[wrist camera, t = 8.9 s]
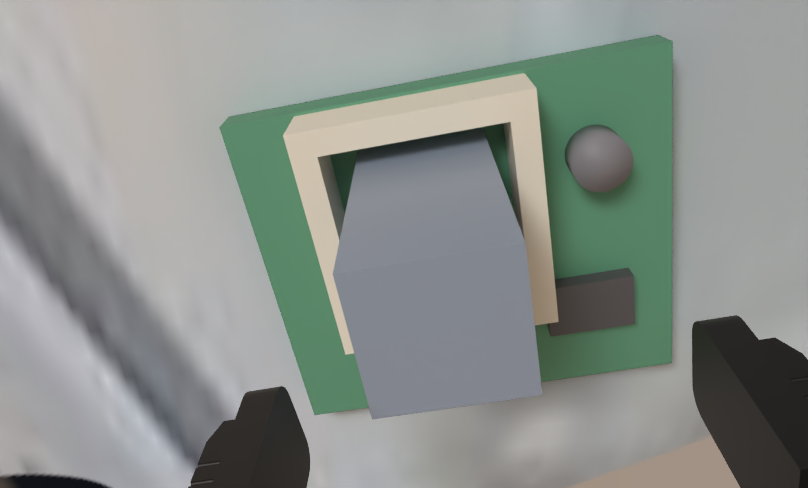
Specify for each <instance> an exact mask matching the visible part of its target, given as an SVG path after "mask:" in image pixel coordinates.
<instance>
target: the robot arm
mask: <svg viewBox="0 0 808 488" xmlns="http://www.w3.org/2000/svg"><path fill="white" fill-rule="evenodd" d="M692 377H693V392H694V397H695V401H696V405H697V408H698V410H699V413H700V415H701V417H702V419H703V421H704V423H705V425H706V426H707V428H708V430H709V432H710V434H711V435H712V437H713V439H714V441H715V443H716V444H717V446H718V448H719V450H720V451H721V453H722V455H723V457H724V458H725V461H726V462H727V464H728V466H729V468H730V469H731V471H732V473H733V475H734V477H735V478H736V480H737V482H738V484H739V486H740V487H741V488H808V360H807V358H806V357H805V356H804V355H803V354H802V353H800V352H799V351H797V350H795V349H794V348H792V347H790V346H788V345H787V344H785V343H783V342H782V341H780V340H778V339H776V338H770V339H763V340H758V338H757V337H756V336H755V335H754V333H753V332H752V331H751V330H750V328H749V327H748V326H747V325H746V323H745V322H744V321H743V320H742V319H741V318H740V317H739V316H737V315H735V316H729V317H722V318H716V319H710V320H703V321H697V322H695V323H694V324H693V328H692ZM309 471H310V454H309V447H308V443H307V440H306V437H305V434H304V432H303V429H302V427H301V424H300V422H299V419H298V416H297V414H296V411H295V409H294V406H293V404H292V401H291V398H290V396H289V394H288V391H287V390H286V389H285V388H284V387H282V386H281V387H275V388H269V389H262V390H256V391H250V392H247V393H245V395H244V397H243V399H242V402H241V405H240V408H239V410H238V413H237V416H236V419H235V420H229V421H224V422H223V423H222V424H221V425H220V427H219V428H218V429H217V430H216V431H215V432H214V434H213V435H212V436H211V437H210V438H209V440H208V441H207V442H206V445H205V447H204V450H203V452H202V455H201V457H200V460H199V462H198V468H196V470H195V472H194V475H193V477H192V480H191V486H190V487H188V488H306V487H307V482H308V477H309Z"/></svg>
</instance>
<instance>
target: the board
mask: <svg viewBox="0 0 808 488" xmlns="http://www.w3.org/2000/svg"><path fill="white" fill-rule="evenodd" d="M672 76H673V41H670V40H668V39H666V38H664V37H661V36H659V35H656V36H650V37H645V38H640V39H635V40H629V41H624V42H619V43H614V44H608V45H603V46H598V47H593V48H587V49H582V50H577V51H572V52H566V53H561V54H556V55H551V56H546V57H540V58H535V59H530V60H525V61H519V62H514V63H509V64H504V65H498V66H493V67H488V68H483V69H477V70H472V71H467V72H462V73H456V74H451V75H446V76H441V77H435V78H430V79H425V80H420V81H414V82H409V83H404V84H399V85H393V86H388V87H383V88H378V89H373V90H367V91H362V92H357V93H352V94H346V95H341V96H336V97H331V98H325V99H320V100H315V101H310V102H304V103H299V104H294V105H289V106H283V107H278V108H273V109H268V110H262V111H257V112H252V113H247V114H241V115H236V116H231V117H228V119H227V120H226V121H225V122H224V123H223V124H222V125H221V126H220V130H221V133H222V136H223V139H224V142H225V145H226V149H227V152H228V155H229V158H230V161H231V164H232V167H233V170H234V173H235V176H236V179H237V182H238V185H239V188H240V191H241V194H242V197H243V200H244V203H245V206H246V209H247V212H248V215H249V218H250V221H251V224H252V227H253V230H254V233H255V236H256V239H257V242H258V245H259V248H260V251H261V254H262V257H263V260H264V263H265V266H266V270H267V273H268V276H269V279H270V282H271V285H272V288H273V291H274V294H275V297H276V300H277V303H278V306H279V309H280V312H281V315H282V318H283V321H284V324H285V327H286V330H287V333H288V336H289V339H290V342H291V345H292V348H293V351H294V354H295V357H296V360H297V363H298V366H299V369H300V372H301V375H302V378H303V381H304V384H305V388H306V391H307V394H308V397H309V400H310V403H311V406H312V409H313V412H314V415H319V414H326V413H332V412H339V411H346V410H353V409H360V408H367V407H369V405H368V402H367V398H366V394H365V391H364V387H363V383H362V380H361V376H360V372H359V369H358V365H357V361H356V358H355V354H354V350H353V347H352V343H351V339H350V336H349V332H348V328H347V325H346V321H345V317H344V314H343V310H342V306H341V303H340V299H339V295H338V292H337V288H336V284H335V281H334V277H333V270H334V265H335V260H336V256H337V251H338V246H339V241H340V236H341V231H342V227H343V222H344V217H345V212H346V207H347V203H348V198H349V193H350V188H351V183H352V178H353V174H354V169H355V164H356V159H357V154H358V150H362V149H368V148H373V147H379V146H385V145H390V144H396V143H401V142H407V141H412V140H418V139H424V138H429V137H435V136H440V135H446V134H452V133H457V132H463V131H468V130H474V129H480V128H483V131H484V133H485V136H486V139H487V141H488V144H489V147H490V149H491V152H492V155H493V157H494V160H495V163H496V165H497V168H498V171H499V173H500V176H501V179H502V181H503V184H504V187H505V189H506V192H507V195H508V197H509V200H510V203H511V205H512V208H513V211H514V213H515V216H516V219H517V221H518V224H519V227H520V229H521V232H522V235H523V237H524V240H525V243H526V251H527V260H528V269H529V278H530V287H531V296H532V305H533V314H534V323H535V332H536V341H537V350H538V359H539V368H540V377H541V382H544V381H551V380H558V379H565V378H572V377H578V376H585V375H592V374H599V373H606V372H613V371H619V370H626V369H633V368H640V367H647V366H654V365H660V364H667V363H672Z"/></svg>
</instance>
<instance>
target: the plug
mask: <svg viewBox="0 0 808 488" xmlns="http://www.w3.org/2000/svg"><path fill="white" fill-rule="evenodd" d="M333 277H334V281H335V284H336V288H337V292H338V295H339V299H340V303H341V306H342V310H343V314H344V317H345V321H346V325H347V328H348V332H349V336H350V339H351V343H352V347H353V350H354V354H355V358H356V361H357V365H358V369H359V372H360V376H361V380H362V383H363V387H364V391H365V394H366V398H367V402H368V405H369V409H370V413H371V416H372V419H378V418H385V417H393V416H400V415H407V414H414V413H421V412H428V411H435V410H442V409H449V408H456V407H463V406H470V405H477V404H484V403H491V402H499V401H506V400H513V399H520V398H527V397H534V396H541V395H542V386H541V377H540V368H539V359H538V350H537V341H536V332H535V323H534V314H533V305H532V296H531V287H530V278H529V269H528V260H527V251H526V243H525V240H524V237H523V235H522V232H521V229H520V227H519V224H518V221H517V219H516V216H515V213H514V211H513V208H512V205H511V203H510V200H509V197H508V195H507V192H506V189H505V187H504V184H503V181H502V179H501V176H500V173H499V171H498V168H497V165H496V163H495V160H494V157H493V155H492V152H491V149H490V147H489V144H488V141H487V139H486V136H485V133H484V131H483V128H480V129H474V130H468V131H463V132H457V133H452V134H446V135H440V136H435V137H429V138H424V139H418V140H412V141H407V142H401V143H396V144H390V145H385V146H379V147H373V148H368V149H362V150H358V154H357V159H356V164H355V169H354V174H353V178H352V183H351V188H350V193H349V198H348V203H347V207H346V212H345V217H344V222H343V227H342V231H341V236H340V241H339V246H338V251H337V256H336V260H335V265H334V270H333Z"/></svg>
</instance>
